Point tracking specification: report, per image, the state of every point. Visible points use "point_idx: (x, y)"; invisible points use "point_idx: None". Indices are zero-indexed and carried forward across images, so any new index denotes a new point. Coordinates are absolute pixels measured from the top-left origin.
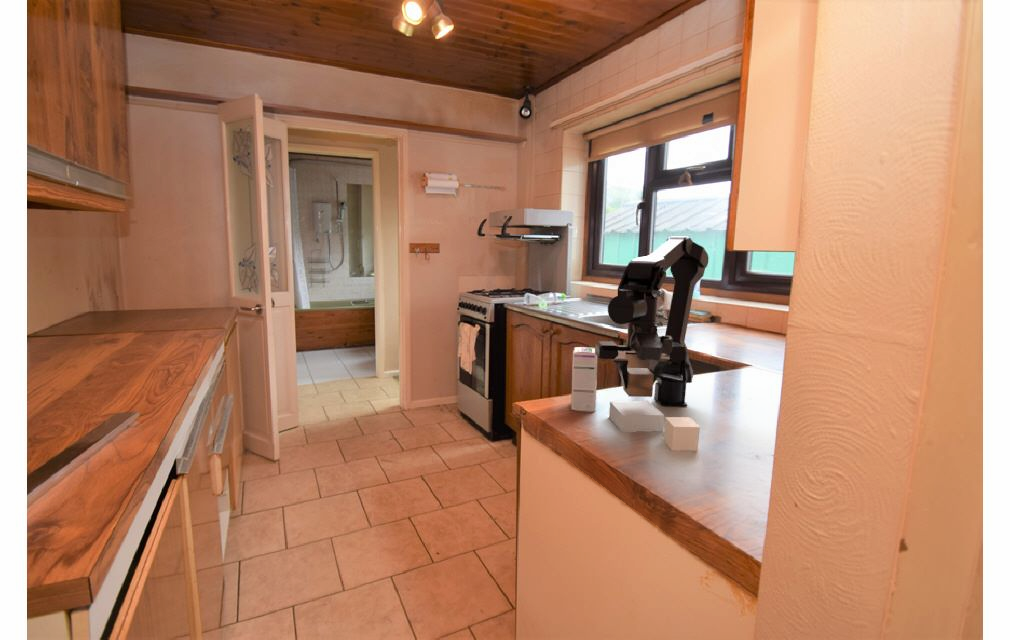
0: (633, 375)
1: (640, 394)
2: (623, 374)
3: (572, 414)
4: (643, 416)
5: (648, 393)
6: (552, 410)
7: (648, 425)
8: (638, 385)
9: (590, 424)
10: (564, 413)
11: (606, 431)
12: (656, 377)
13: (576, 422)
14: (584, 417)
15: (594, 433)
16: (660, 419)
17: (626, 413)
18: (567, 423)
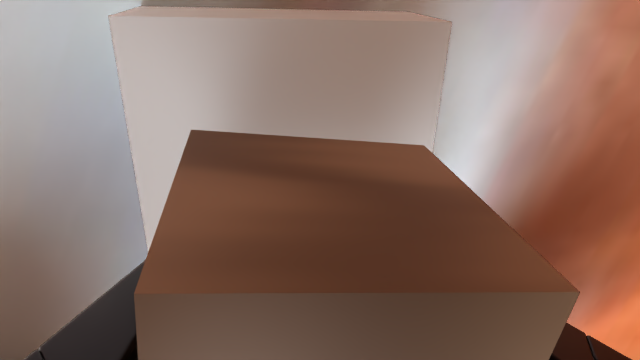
0: (515, 274)
1: (319, 145)
2: (586, 342)
3: (542, 251)
4: (292, 19)
5: (232, 146)
6: (601, 291)
7: (246, 11)
8: (371, 192)
9: (524, 131)
10: (570, 261)
11: (490, 29)
12: (66, 330)
13: (576, 158)
14: (507, 218)
15: (567, 4)
16: (150, 12)
17: (407, 69)
18: (622, 146)
